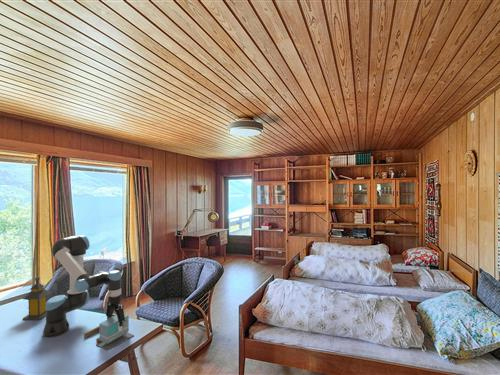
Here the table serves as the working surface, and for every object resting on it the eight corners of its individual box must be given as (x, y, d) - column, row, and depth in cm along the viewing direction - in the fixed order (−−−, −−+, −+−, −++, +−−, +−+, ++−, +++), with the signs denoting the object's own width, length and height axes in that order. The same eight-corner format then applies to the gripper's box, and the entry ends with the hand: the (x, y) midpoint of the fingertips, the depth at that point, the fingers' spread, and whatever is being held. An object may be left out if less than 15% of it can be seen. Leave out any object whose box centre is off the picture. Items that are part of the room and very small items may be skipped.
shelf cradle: (84, 337, 187) (83, 316, 186) (109, 325, 202) (108, 306, 202) (97, 343, 179) (97, 322, 179) (122, 330, 195) (122, 311, 195)
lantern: (40, 320, 209) (39, 280, 208) (21, 320, 210) (20, 280, 209) (53, 311, 223) (52, 274, 223) (36, 311, 224) (35, 274, 223)
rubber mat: (96, 345, 178) (96, 344, 178) (122, 331, 194) (122, 330, 194) (107, 351, 172) (107, 350, 172) (133, 335, 189) (133, 335, 189)
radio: (108, 345, 173) (108, 314, 173) (99, 341, 178) (98, 311, 177) (130, 333, 188) (129, 303, 187) (120, 329, 192) (120, 301, 191)
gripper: (99, 293, 184) (100, 327, 185) (120, 300, 174) (120, 336, 174) (109, 289, 191) (110, 322, 191) (130, 296, 180) (131, 330, 181)
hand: (115, 328), depth 183 cm, fingers closed on radio, 9 cm apart
